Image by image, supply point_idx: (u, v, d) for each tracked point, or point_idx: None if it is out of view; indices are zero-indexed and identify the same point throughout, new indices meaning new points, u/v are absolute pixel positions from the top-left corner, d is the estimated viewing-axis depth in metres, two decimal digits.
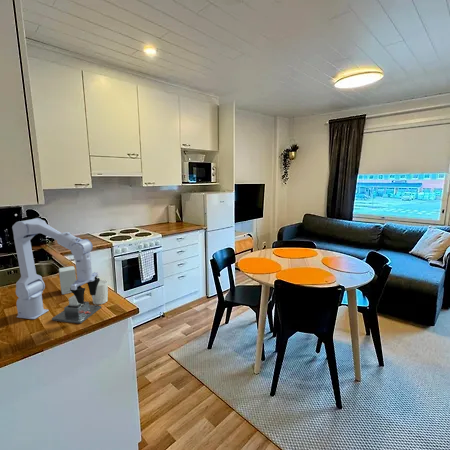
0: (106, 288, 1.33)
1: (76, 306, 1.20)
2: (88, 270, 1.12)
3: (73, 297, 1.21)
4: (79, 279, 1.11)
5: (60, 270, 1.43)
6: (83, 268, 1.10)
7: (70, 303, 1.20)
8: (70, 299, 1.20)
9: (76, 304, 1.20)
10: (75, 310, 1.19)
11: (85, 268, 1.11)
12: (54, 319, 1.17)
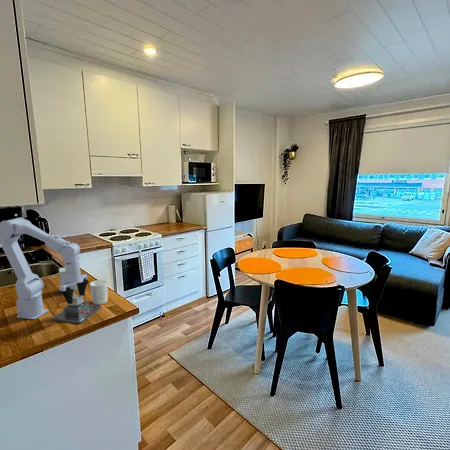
0: (106, 288, 1.33)
1: (76, 306, 1.20)
2: (76, 272, 1.18)
3: (73, 297, 1.21)
4: (68, 281, 1.17)
5: (60, 270, 1.43)
6: (73, 270, 1.17)
7: None
8: None
9: (76, 304, 1.20)
10: (75, 310, 1.19)
11: (75, 270, 1.17)
12: (54, 319, 1.17)
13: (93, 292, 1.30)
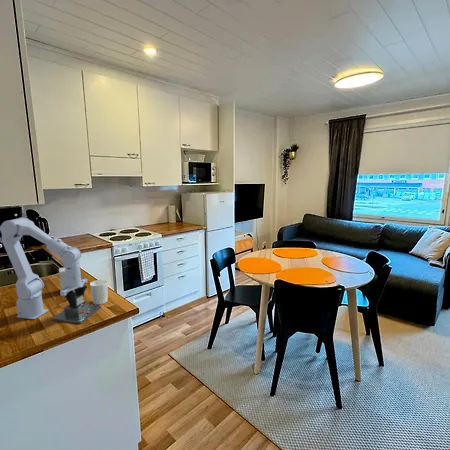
0: (106, 288, 1.33)
1: (76, 306, 1.20)
2: (77, 277, 1.18)
3: None
4: (68, 285, 1.18)
5: (60, 270, 1.43)
6: (74, 275, 1.17)
7: None
8: None
9: (76, 304, 1.20)
10: (75, 310, 1.19)
11: (76, 275, 1.18)
12: (54, 319, 1.17)
13: (93, 292, 1.30)
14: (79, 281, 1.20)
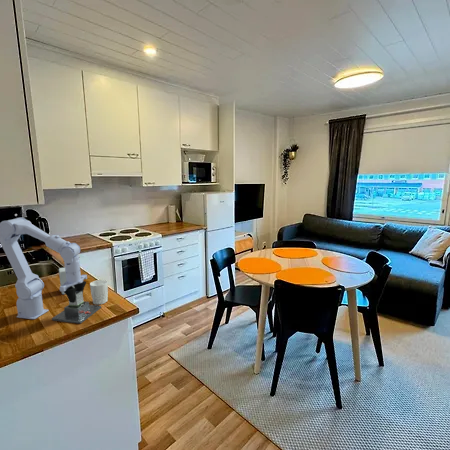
0: (106, 288, 1.33)
1: (76, 302, 1.20)
2: (76, 272, 1.18)
3: None
4: (68, 281, 1.17)
5: (60, 270, 1.43)
6: (73, 270, 1.17)
7: None
8: None
9: (76, 300, 1.19)
10: (75, 310, 1.19)
11: (75, 270, 1.17)
12: (54, 319, 1.17)
13: (93, 292, 1.30)
14: (79, 277, 1.19)
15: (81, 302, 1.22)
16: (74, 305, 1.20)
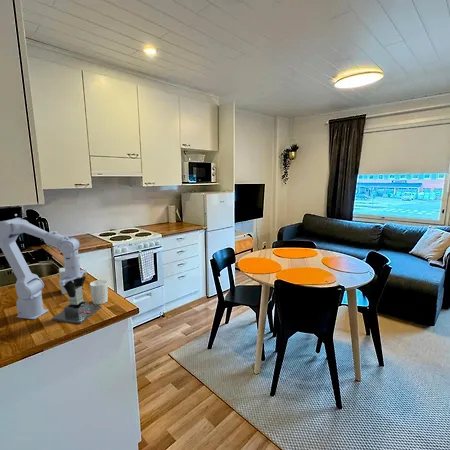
0: (106, 288, 1.33)
1: (75, 297, 1.19)
2: (76, 267, 1.18)
3: None
4: (67, 276, 1.17)
5: (60, 270, 1.43)
6: (73, 265, 1.16)
7: None
8: None
9: (75, 295, 1.19)
10: (75, 310, 1.19)
11: (74, 265, 1.17)
12: (54, 319, 1.17)
13: (93, 292, 1.30)
14: (78, 271, 1.19)
15: (80, 297, 1.22)
16: (73, 300, 1.20)
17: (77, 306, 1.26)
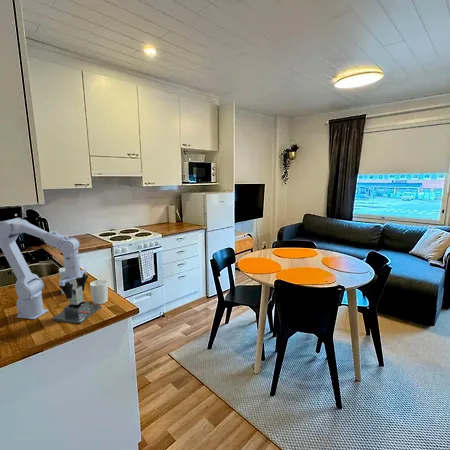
0: (106, 288, 1.33)
1: (75, 297, 1.19)
2: (76, 267, 1.18)
3: (72, 288, 1.20)
4: (67, 276, 1.17)
5: (60, 270, 1.43)
6: (73, 265, 1.16)
7: None
8: None
9: (75, 295, 1.19)
10: (75, 310, 1.19)
11: (74, 265, 1.17)
12: (54, 319, 1.17)
13: (93, 292, 1.30)
14: (78, 271, 1.19)
15: (80, 297, 1.22)
16: (73, 300, 1.20)
17: (77, 306, 1.26)
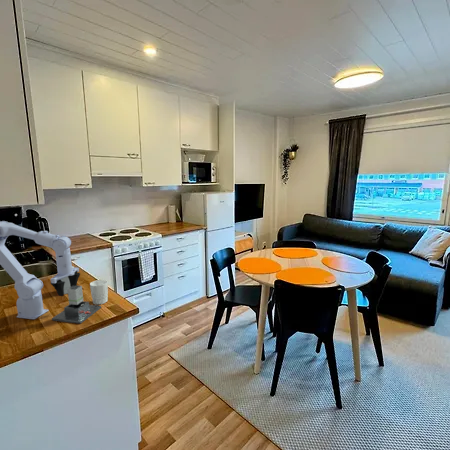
0: (106, 288, 1.33)
1: (75, 297, 1.19)
2: (68, 265, 1.19)
3: (72, 288, 1.20)
4: (59, 273, 1.19)
5: None
6: (65, 262, 1.19)
7: (68, 294, 1.20)
8: (69, 290, 1.19)
9: (75, 295, 1.19)
10: (75, 310, 1.19)
11: (67, 262, 1.19)
12: (54, 319, 1.17)
13: (93, 292, 1.30)
14: (70, 269, 1.21)
15: (80, 297, 1.22)
16: (73, 300, 1.20)
17: (77, 306, 1.26)
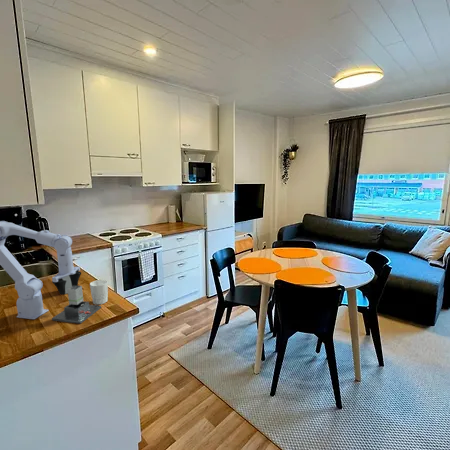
0: (106, 288, 1.33)
1: (75, 297, 1.19)
2: (69, 264, 1.20)
3: (72, 288, 1.20)
4: (61, 272, 1.20)
5: None
6: (67, 261, 1.19)
7: (68, 294, 1.20)
8: (69, 290, 1.19)
9: (75, 295, 1.19)
10: (75, 310, 1.19)
11: (69, 261, 1.20)
12: (54, 319, 1.17)
13: (93, 292, 1.30)
14: (71, 268, 1.21)
15: (80, 297, 1.22)
16: (73, 300, 1.20)
17: (77, 306, 1.26)
